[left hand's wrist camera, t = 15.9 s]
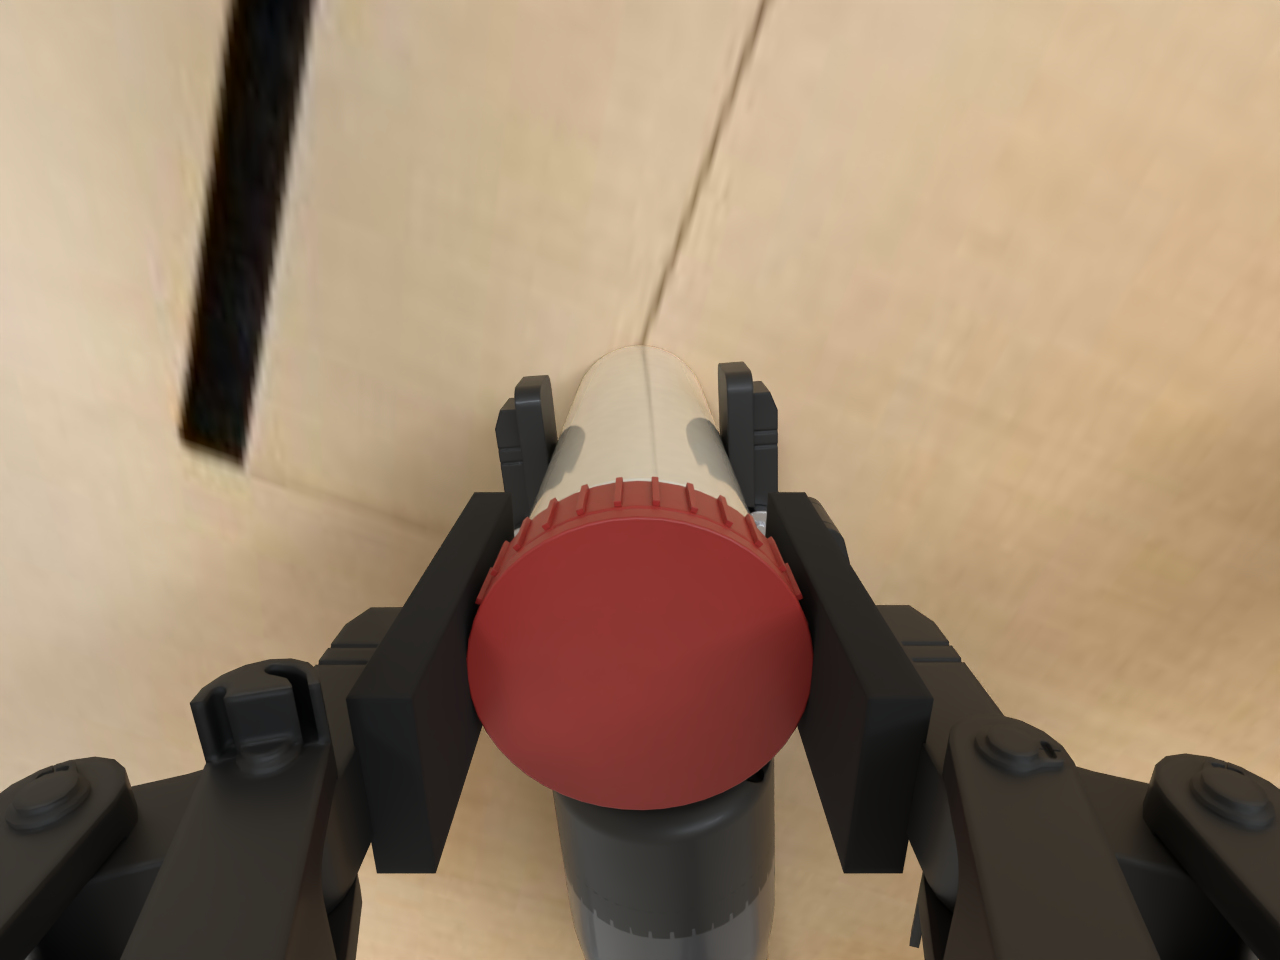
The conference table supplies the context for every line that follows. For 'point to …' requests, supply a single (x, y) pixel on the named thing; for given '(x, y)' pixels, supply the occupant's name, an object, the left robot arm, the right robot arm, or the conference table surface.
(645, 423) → the bottle
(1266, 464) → the conference table surface
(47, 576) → the conference table surface
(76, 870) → the left robot arm
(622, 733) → the lid
